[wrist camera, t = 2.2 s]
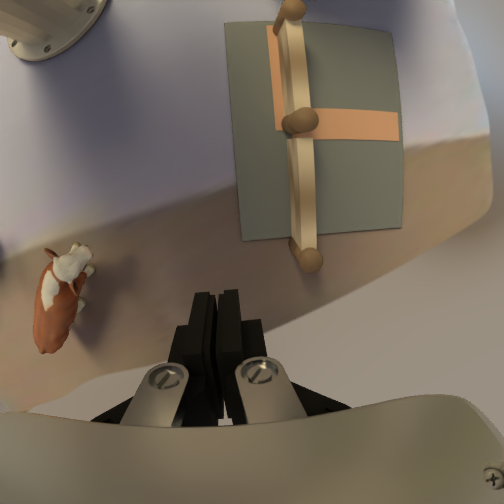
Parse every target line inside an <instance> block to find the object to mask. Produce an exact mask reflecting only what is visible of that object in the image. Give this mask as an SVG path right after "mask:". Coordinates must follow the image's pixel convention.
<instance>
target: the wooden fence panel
mask: <svg viewBox="0 0 504 504" xmlns="http://www.w3.org/2000/svg"><path fill="white" fill-rule="evenodd" d="M306 10H307V8H306V5H305V4H304V3H303V2H302V1H301V0H285V1H284V2H283V4H282V6H281V8H280V11H279V13H278V16H277V18H276V21H275V23H274V26H273V33H274V34H275V35H276V36H277V44H278V53H279V63H280V74H281V85H282V96H283V108H284V118H283V119H282V122H281V126H282V129H283V131H284V132H286V133H287V134H291V135H292V134H299V133H305V132H310V131H313V130H314V129H315V128H316V127H317V126H318V123H319V118H318V115H317V113H316V112H315V111H314V110H313V109H311V105H310V93H309V82H308V72H307V63H306V54H305V45H304V37H303V29H302V22H301V19H302V18H303V16H304V15H305V13H306Z"/></svg>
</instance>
